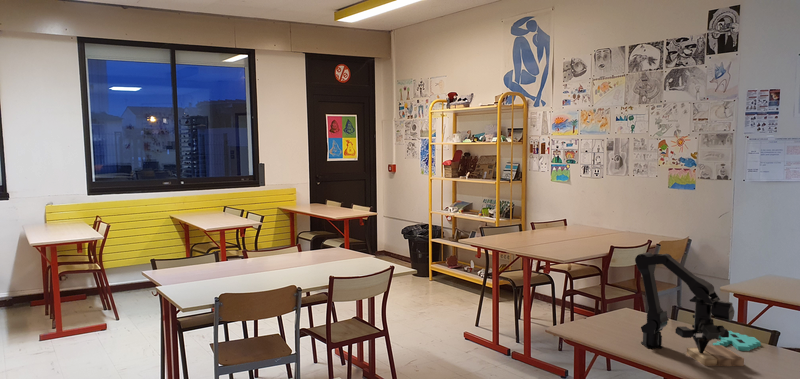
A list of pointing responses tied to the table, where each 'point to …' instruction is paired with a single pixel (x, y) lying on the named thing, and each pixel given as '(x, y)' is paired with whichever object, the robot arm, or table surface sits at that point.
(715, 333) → the robot arm
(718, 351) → the floor section
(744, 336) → the alien figure
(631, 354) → the table surface
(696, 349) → the oak plank
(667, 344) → the table surface
